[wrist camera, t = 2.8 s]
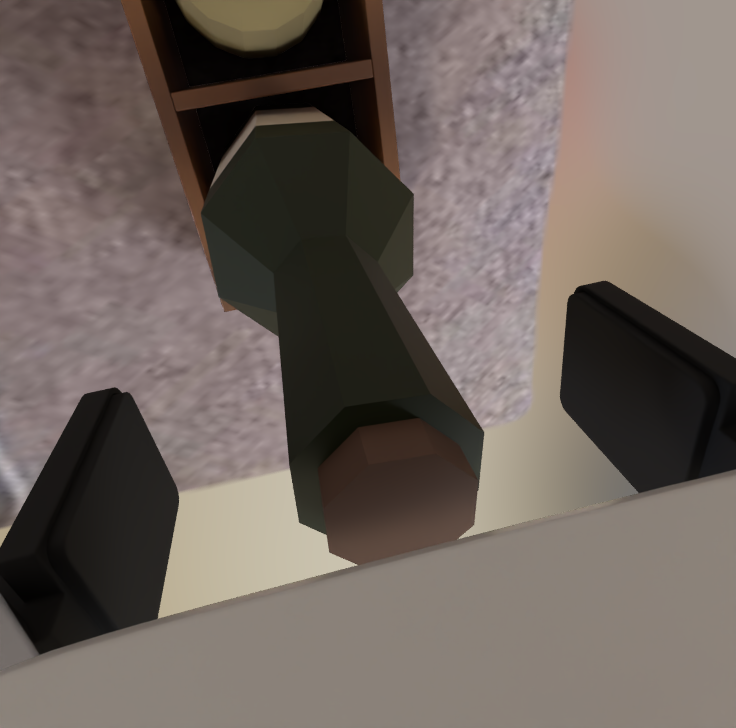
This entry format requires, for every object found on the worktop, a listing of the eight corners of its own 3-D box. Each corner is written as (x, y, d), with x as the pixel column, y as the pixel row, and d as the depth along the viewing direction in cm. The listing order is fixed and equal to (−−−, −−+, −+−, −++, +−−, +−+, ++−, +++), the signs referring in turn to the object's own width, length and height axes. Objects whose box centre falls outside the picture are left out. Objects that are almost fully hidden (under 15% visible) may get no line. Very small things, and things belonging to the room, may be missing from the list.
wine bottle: (240, 76, 30) (144, 127, 4) (368, 126, 32) (774, 337, 7) (212, 211, 33) (70, 676, 8) (330, 246, 36) (506, 673, 11)
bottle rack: (101, -154, 24) (40, -241, 17) (327, -182, 25) (354, -275, 18) (230, 265, 35) (224, 312, 28) (381, 234, 36) (409, 273, 29)
